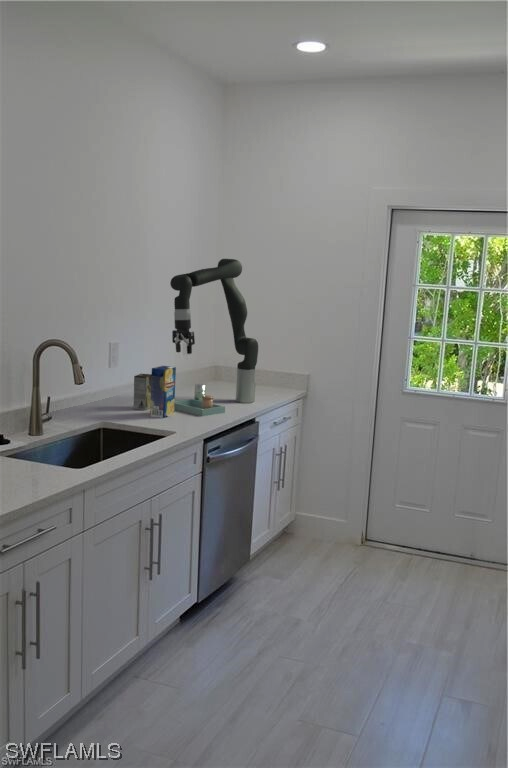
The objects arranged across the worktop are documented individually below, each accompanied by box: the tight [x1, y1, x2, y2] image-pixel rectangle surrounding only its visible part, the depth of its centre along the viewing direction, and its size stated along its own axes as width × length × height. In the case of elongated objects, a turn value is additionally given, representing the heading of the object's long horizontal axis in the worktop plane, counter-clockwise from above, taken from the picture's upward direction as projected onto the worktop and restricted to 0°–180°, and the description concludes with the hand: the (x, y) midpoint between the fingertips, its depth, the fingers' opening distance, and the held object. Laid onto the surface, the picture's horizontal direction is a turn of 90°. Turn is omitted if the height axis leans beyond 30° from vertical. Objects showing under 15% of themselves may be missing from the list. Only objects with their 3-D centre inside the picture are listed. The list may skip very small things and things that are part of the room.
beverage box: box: [149, 365, 177, 419], centre depth 341 cm, size 7×11×22 cm, turn 161°
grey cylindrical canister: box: [193, 383, 207, 401], centre depth 366 cm, size 5×5×11 cm
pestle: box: [202, 394, 214, 409], centre depth 349 cm, size 5×5×8 cm
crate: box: [174, 398, 226, 417], centre depth 353 cm, size 15×22×4 cm
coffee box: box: [132, 373, 152, 411], centre depth 354 cm, size 9×6×16 cm
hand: (183, 353), depth 352 cm, fingers open, 8 cm apart
